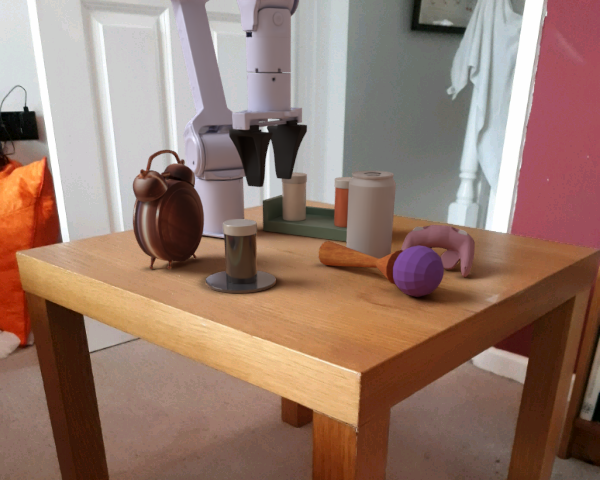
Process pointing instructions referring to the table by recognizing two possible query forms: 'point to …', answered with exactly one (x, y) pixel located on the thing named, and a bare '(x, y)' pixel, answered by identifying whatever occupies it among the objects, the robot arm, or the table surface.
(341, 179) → the paprika shaker
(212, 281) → the coaster
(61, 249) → the table surface
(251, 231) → the pepper shaker
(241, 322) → the table surface
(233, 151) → the robot arm
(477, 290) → the table surface
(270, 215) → the spice rack
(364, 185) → the beverage can
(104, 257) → the table surface
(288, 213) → the salt shaker
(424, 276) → the kendama
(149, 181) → the alarm clock
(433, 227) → the video game controller
